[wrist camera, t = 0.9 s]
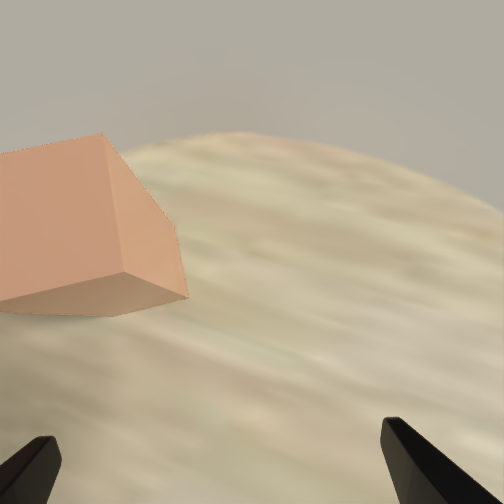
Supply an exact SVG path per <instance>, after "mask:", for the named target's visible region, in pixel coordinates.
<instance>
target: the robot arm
mask: <svg viewBox="0 0 504 504" xmlns="http://www.w3.org/2000/svg"><path fill="white" fill-rule="evenodd" d="M380 443H381V448H382V451H383V454H384V457H385V460H386V463H387V466H388V469H389V472H390V475H391V478H392V481H393V484H394V487H395V490H396V493H397V496H398V499H399V502H400V504H503V503H502V502H500V501H499V500H498V499H497V498H496V497H494V496H493V495H492V494H491V493H490V492H488V491H487V490H486V489H485V488H484V487H482V486H481V485H480V484H479V483H478V482H476V481H475V480H474V479H473V478H472V477H471V476H469V475H468V474H467V473H466V472H465V471H463V470H462V469H461V468H460V467H459V466H457V465H456V464H455V463H454V462H453V461H451V460H450V459H449V458H448V457H447V456H445V455H444V454H443V453H442V452H441V451H439V450H438V449H437V448H436V447H435V446H433V445H432V444H431V443H430V442H429V441H428V440H426V439H425V438H424V437H423V436H422V435H420V434H419V433H418V432H417V431H416V430H414V429H413V428H412V427H411V426H410V425H408V424H407V423H406V422H405V421H404V420H402V419H401V418H399V417H386V418H384V419H383V423H382V430H381V437H380ZM61 462H62V457H61V453H60V450H59V447H58V444H57V441H56V438H55V437H54V436H39V437H36V438H35V439H33V440H32V441H31V442H29V443H28V444H27V445H26V446H24V447H23V448H22V449H20V450H19V451H18V452H17V453H15V454H14V455H13V456H12V457H10V458H9V459H8V460H6V461H5V462H4V463H3V464H1V465H0V504H47V501H48V498H49V496H50V493H51V491H52V488H53V485H54V483H55V480H56V477H57V475H58V472H59V469H60V467H61Z"/></svg>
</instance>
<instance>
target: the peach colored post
mask: <svg viewBox="0 0 504 504" xmlns="http://www.w3.org/2000/svg"><path fill="white" fill-rule="evenodd" d="M187 298H189V295H188V290H187V285H186V280H185V275H184V270H183V265H182V260H181V255H180V250H179V244H178V239H177V234H176V229H175V226H174V225H173V224H172V222H171V221H170V220H169V218H168V217H167V216H166V215H165V213H164V212H163V211H162V209H161V208H160V207H159V206H158V204H157V203H156V202H155V200H154V199H153V198H152V196H151V195H150V194H149V193H148V191H147V190H146V189H145V187H144V186H143V185H142V183H141V182H140V181H139V180H138V178H137V177H136V176H135V174H134V173H133V172H132V170H131V169H130V168H129V167H128V165H127V164H126V163H125V161H124V160H123V159H122V157H121V156H120V155H119V154H118V152H117V151H116V150H115V148H114V147H113V146H112V144H111V143H110V142H109V141H108V139H107V138H106V137H105V135H104V134H103V133H100V134H96V135H90V136H86V137H81V138H76V139H71V140H67V141H61V142H57V143H51V144H46V145H42V146H37V147H32V148H27V149H22V150H17V151H12V152H7V153H2V154H0V313H27V314H53V315H80V316H106V317H114V316H118V315H122V314H126V313H130V312H134V311H138V310H142V309H146V308H150V307H155V306H159V305H163V304H167V303H171V302H175V301H179V300H183V299H187Z"/></svg>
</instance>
